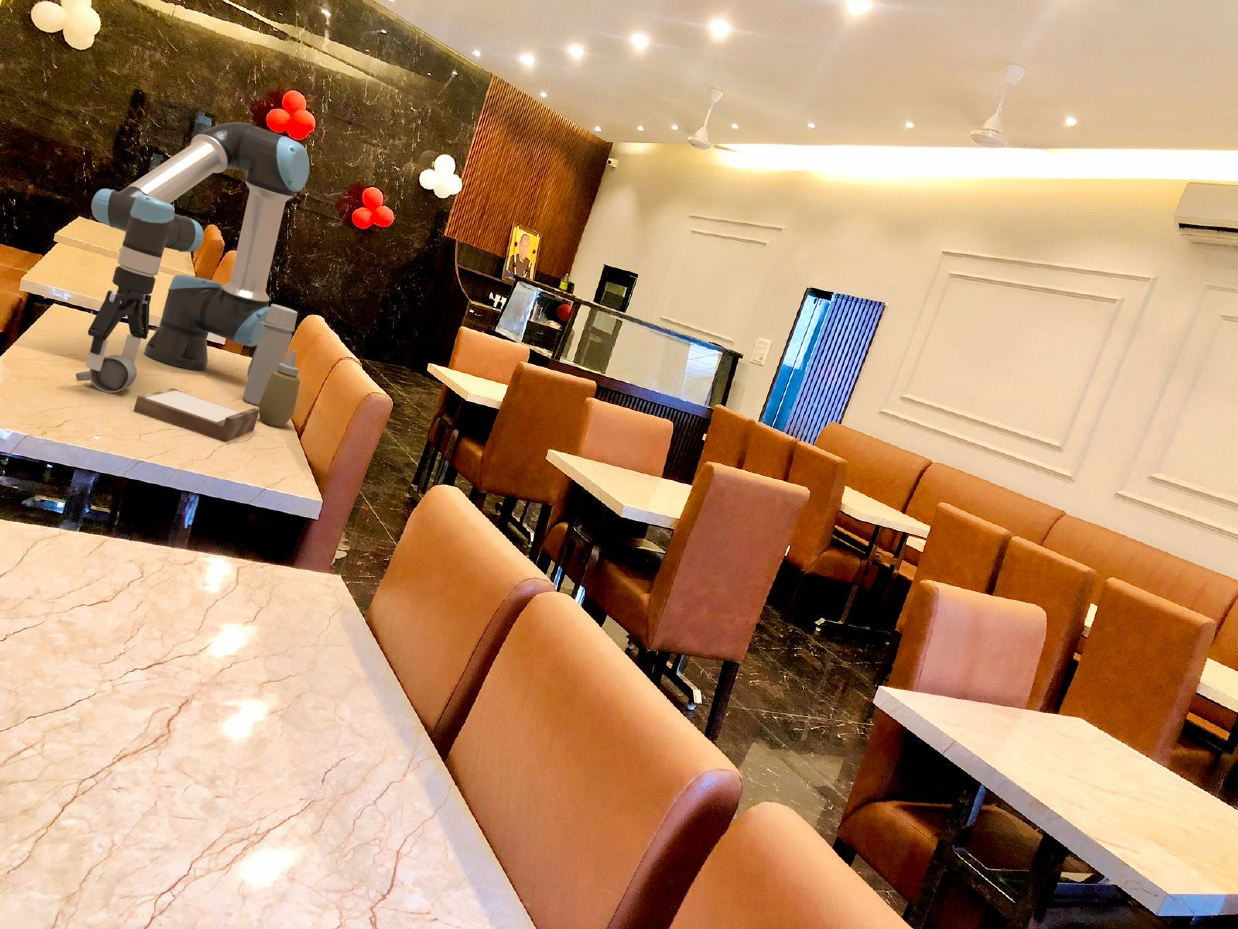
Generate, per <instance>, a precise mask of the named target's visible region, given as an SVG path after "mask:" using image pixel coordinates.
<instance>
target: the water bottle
mask: <svg viewBox="0 0 1238 929" xmlns="http://www.w3.org/2000/svg"><path fill="white" fill-rule="evenodd" d="M269 307H270V309H269V312H268V314H267V317H266V319H265V322H261V324H264V326H263V330H262V333H261V336H260V340H259V342H258V345H256V346H255V350H254V353H253V355H252V357H251V360H250V363H249V364H248V369H247V372H246V378H247V382H246V385H245V388H244V391H243V394H242V398H243V400H244V401H245V402H247V403H248V402H249V404H251V405H254V404H256V405H255V406H257V405H259V402H260V400H261V398H262V395H263V393H264V390H265V388H266V386H267V383H268V381H269V378H270V376H271V374H272V372H274V371H278V370H277V369H278V365H279V363H284V362H285V361H286V359H287V357H286V356H287V353H288V350H289V347H290V345H291V340H292V338H293V333H294V332H295V331H296V330H295V329H296V328H295V327H296V323H297V322H296V321H297V318H298V311H296V310H294V309H292V308H289V307H286V306H284V305H283V306H282V305H279V304H275V303H272V304H271V305H270V306H269Z"/></svg>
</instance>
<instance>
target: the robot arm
mask: <svg viewBox="0 0 1238 929" xmlns="http://www.w3.org/2000/svg"><path fill="white" fill-rule="evenodd" d="M307 152H308V151H307V150H306V148H305V147H304V146H303V145H302V144H301V143H299V142H298V141H295V140H293V139H291V138H290V137H288V136H284V135H282V134H278V133H276V132H272V131H270V130H266V129H264V128H261V127H258V126H256V125H254V124H252V123H247V122H242V121H241V122H240V121H239V122H237V121H235V122H234V121H233V122H225V123H221V124H218V125H214V126H212V127H208V128H207V129H205V130H203V131H201V132H199V133H198V134H196V135H195V136H193V138H192V139H191V141H190V145H189V146H187V147H186V148H184V149H182V150H181V151H179V152H178V153H176V154H174V155H173V156H172V157H170V158H169V159H167V160H166V161H164V162H163V163H161V164H160V165H158V166H157V167H155V168H153V169H152V170H151V171H149V172H148V173H146V174H145V175H143V176H142V177H140V178H138V179H137V180H136V181H134V182H133V183H131V184H129V185H128V186H127V187H125V188H123V189H122V190H120V191H118V190H116V189H109V188H101V189H99V190H98V191H96V193H95V194H94V196H93V198H92V201H91V211H92V212H91V213H92V216H93V217H94V219H96V220H97V221H98V222H100V223H103V224H104V225H106V226H108V227H110V228H113V229H117V230H119V231H123V232H125V234H124V239H123V241H122V245H121V248H120V249H118V251H119V255H118V258H117V259H118V260H117V264H118V266H117V267H115V270H114V273H113V276H112V283H113V284H114V285H115V286H117V287H118V288H117V290H116V291H113V290H107V292H106V296H105V298H104V301H103V303H102V304H101V306H100V308H99V310H98V312H97V314H96V315H95V318H94V319H93V321H92V322H91V324H90V326H89V328H88V330H87V333H88V334H87V335H88V336H91V337H92V341H91V344H90V348H89V352H88V356H87V359H86V363H85V368H88V369H90V368H91V369H94V370H97V371H101V367H102V364H103V360H104V357H106V356H105V355H106V352H107V349H108V344H109V342H110V341H109V340H107V339H108V338H109V336H110V335H111V334H112V333H113V331H114V329H115V328H116V327H117V325H118V324H120V323H119V322H120V321H121V319H122V318H125V317H127V323H128V328H129V333H130V334H127V335H126V338H125V342H124V345H123V348H122V353H121V356H124V357H126V358H128V359H129V360H131V361H132V362H133V364H134V365H135V363H136V359H137V355H138V352H139V348H140V344H141V341H142V339H143V340H147V338H148V334H149V332H150V331H149V330H150V305H151V299H152V295H151V294H152V293H153V291H154V288H155V284H156V277H154V276H158V275H159V270H160V266H161V262H162V259H163V254H164V251H165V249H170V250H174V251H178V252H180V253H190V252H191V253H192V252H195V251H197V250H198V249H200V248H201V246H202V245H203V242H204V238H205V237H204V236H205V235H204V234H205V233H204V230H203V228H202V226H201V224H200V223H199V222H198V221H196V220H195V219H192V218H191V217H188V216H186V215H180V214H177V213H175V206H174V205H172V204H171V203H172V202H174V201H175V200H177V199H178V198H179V197H181V196H182V195H183V194H185V193H186V192H188V191H189V190H191V189H192V188H194V187H195V186H196V185H198V184H199V183H201V182H202V181H204V180H205V179H206V178H208V177H209V176H211V175H212V174H213V173H214V174H219V173H220V174H221V173H222V172H224V171H226V170H228V169H231V170H238V171H240V172H242V173H245V174H246V176H245V180H244V183H245V184H246V186H247V188H248V189H249V193H248V198H247V203H246V207H245V211H244V216H243V220H242V225H241V229H240V230H241V231H240V234H239V239H238V243H237V244H238V245H237V249H236V252H235V257H234V262H233V267H232V271H231V276H230V280H229V282H227V283H225V284H224V285H222V283H221V282H218V281H216V280H215V281H214V280H212V279H207V278H202V277H197V276H191V275H185V274H176V275H174V277H173V278H172V280H171V281H170V282H171V283H170V284H169V288H168V289H167V290H168V292H167V296H166V300H165V303H164V307H163V311H162V315H161V319H160V321H159V322H160V323H159V324H158V325H159V326H158V327H157V329H156V331H155V332H154V333H153V335H151V337H150V338H149V340H148V342H147V343H146V344H145V348H144V354H145V355H146V356H147V355H148V357H149V356H150V357H149V358H151V359H154V360H155V361H158V362H160V363H164V364H166V363H167V365H171V366H174V367H177V366H178V367H177V368H181V367H182V368H181V369H188V370H192V371H193V370H195V371H206V369H207V366H208V361H209V357H208V341H207V340H208V335H209V333H210V334H213V335H216V336H218V337H221V338H224V339H226V340H228V341H231V342H234V344H238V345H239V344H240V345H243V346H246V347H254V346H255V347H256V346H257V345H258V342H259V340H260V336H261V333H262V330H263V326H264V324H261V322H265V319H266V317H267V314H268V312H269V309H270V307H271V306H269V302H270V297H269V295H268V294H267V292H266V287H267V283H268V281H269V280H268V279H269V275H270V271H271V266H272V262H273V257H274V253H275V248H276V245H277V240H278V236H279V231H280V229H281V228H280V227H281V224H282V223H281V222H282V219H283V215H284V210H285V206H286V202H287V201H289V200H290V199H293V198H294V197H295V196H294V195H295V192H300V191H301V190H302V189H303V188H304V187H305V185H306V184H307V182H308V180H309V179H308V178H309V173H310V160H309V155H308V153H307ZM119 265H120V266H119Z"/></svg>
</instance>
